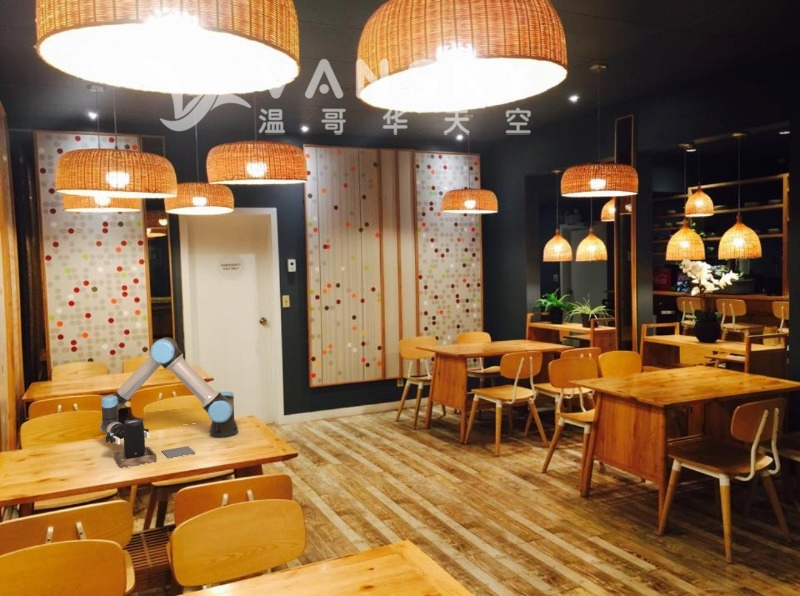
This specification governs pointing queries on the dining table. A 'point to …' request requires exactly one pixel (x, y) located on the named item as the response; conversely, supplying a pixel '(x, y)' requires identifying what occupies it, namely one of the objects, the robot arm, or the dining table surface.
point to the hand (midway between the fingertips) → (133, 438)
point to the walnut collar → (135, 461)
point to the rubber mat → (178, 452)
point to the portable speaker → (134, 439)
